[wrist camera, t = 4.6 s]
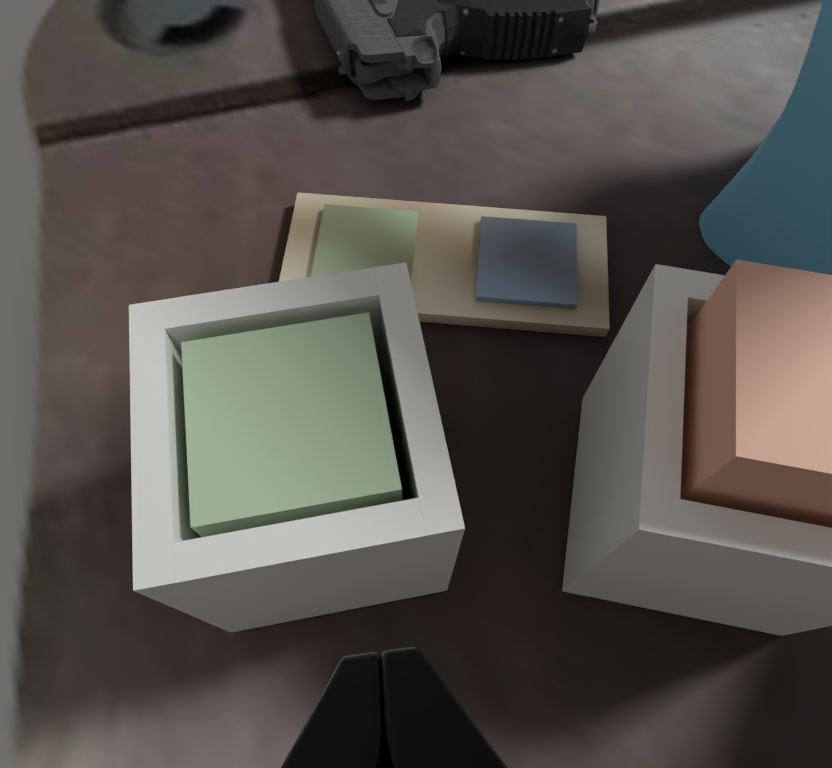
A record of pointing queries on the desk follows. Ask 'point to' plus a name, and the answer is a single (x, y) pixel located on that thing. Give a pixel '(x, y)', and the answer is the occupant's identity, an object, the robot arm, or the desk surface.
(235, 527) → the green key
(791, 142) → the vase
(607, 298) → the board
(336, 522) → the keypad
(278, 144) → the desk surface
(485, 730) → the desk surface
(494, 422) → the desk surface
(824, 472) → the terracotta key
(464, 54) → the handgun
